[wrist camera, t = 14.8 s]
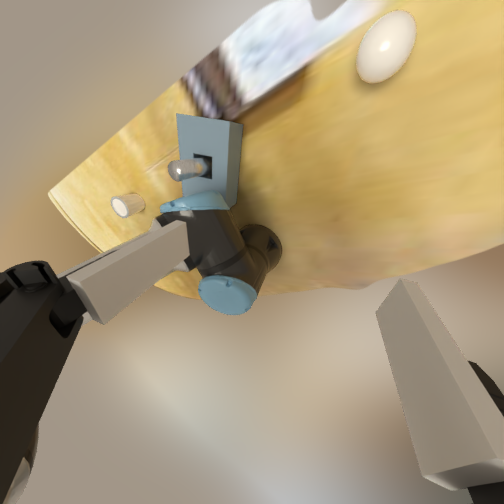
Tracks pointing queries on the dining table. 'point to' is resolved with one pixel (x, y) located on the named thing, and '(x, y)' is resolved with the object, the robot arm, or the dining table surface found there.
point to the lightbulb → (386, 46)
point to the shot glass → (127, 204)
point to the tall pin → (190, 168)
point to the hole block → (211, 154)
